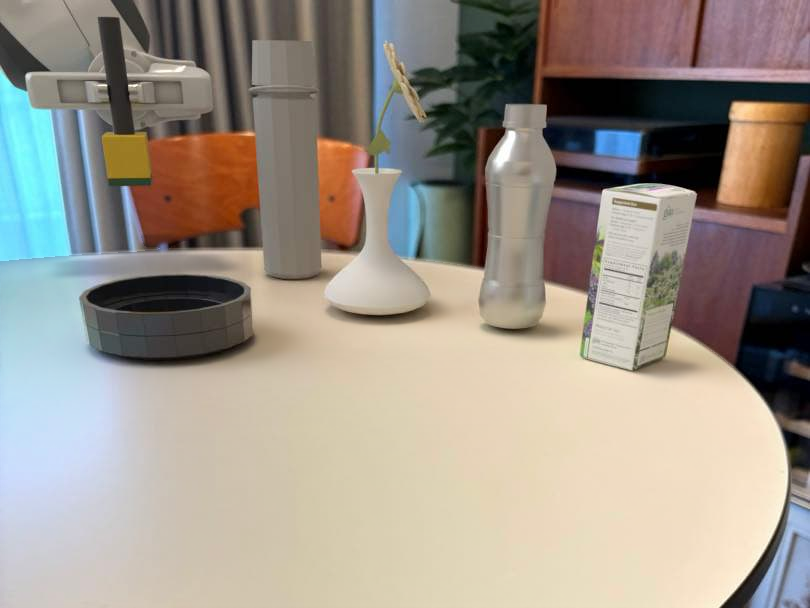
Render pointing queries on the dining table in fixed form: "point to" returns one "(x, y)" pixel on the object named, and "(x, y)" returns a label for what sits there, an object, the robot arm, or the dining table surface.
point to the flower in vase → (380, 231)
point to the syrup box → (636, 273)
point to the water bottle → (287, 156)
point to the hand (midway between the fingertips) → (118, 93)
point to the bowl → (167, 316)
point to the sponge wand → (121, 116)
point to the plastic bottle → (517, 220)
